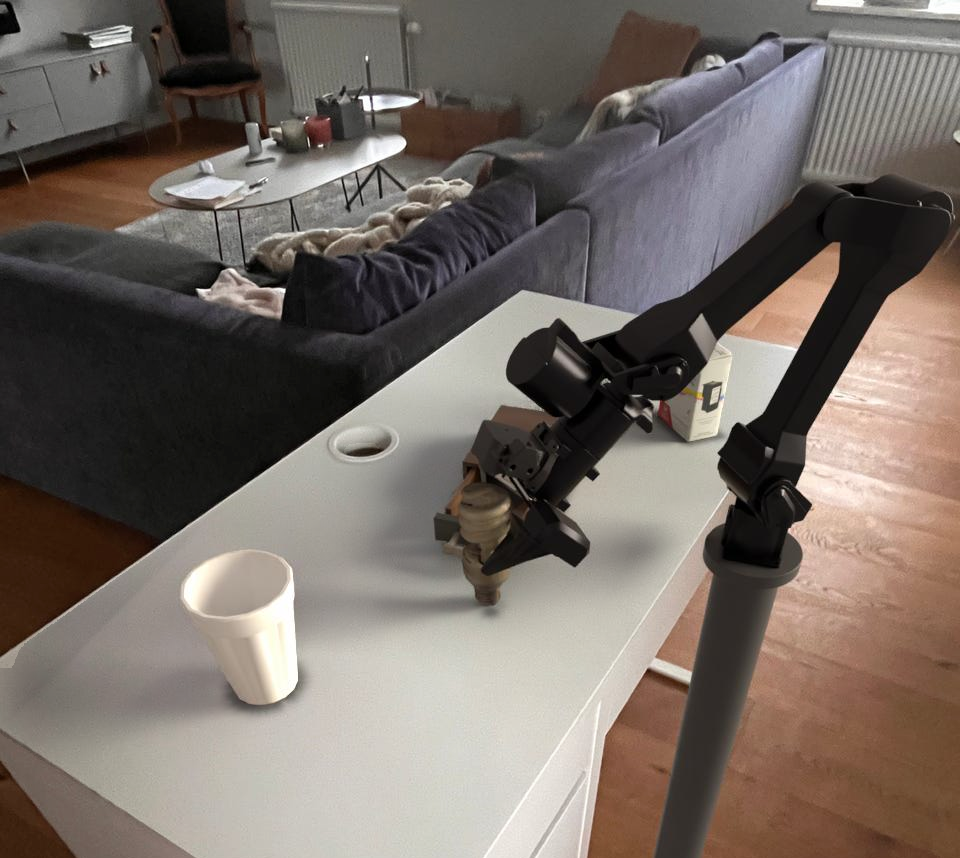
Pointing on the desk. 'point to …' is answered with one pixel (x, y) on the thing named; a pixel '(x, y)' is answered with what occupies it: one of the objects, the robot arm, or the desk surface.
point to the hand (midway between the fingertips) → (474, 555)
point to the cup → (246, 621)
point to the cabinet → (512, 417)
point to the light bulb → (484, 535)
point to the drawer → (449, 522)
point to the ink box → (700, 400)
